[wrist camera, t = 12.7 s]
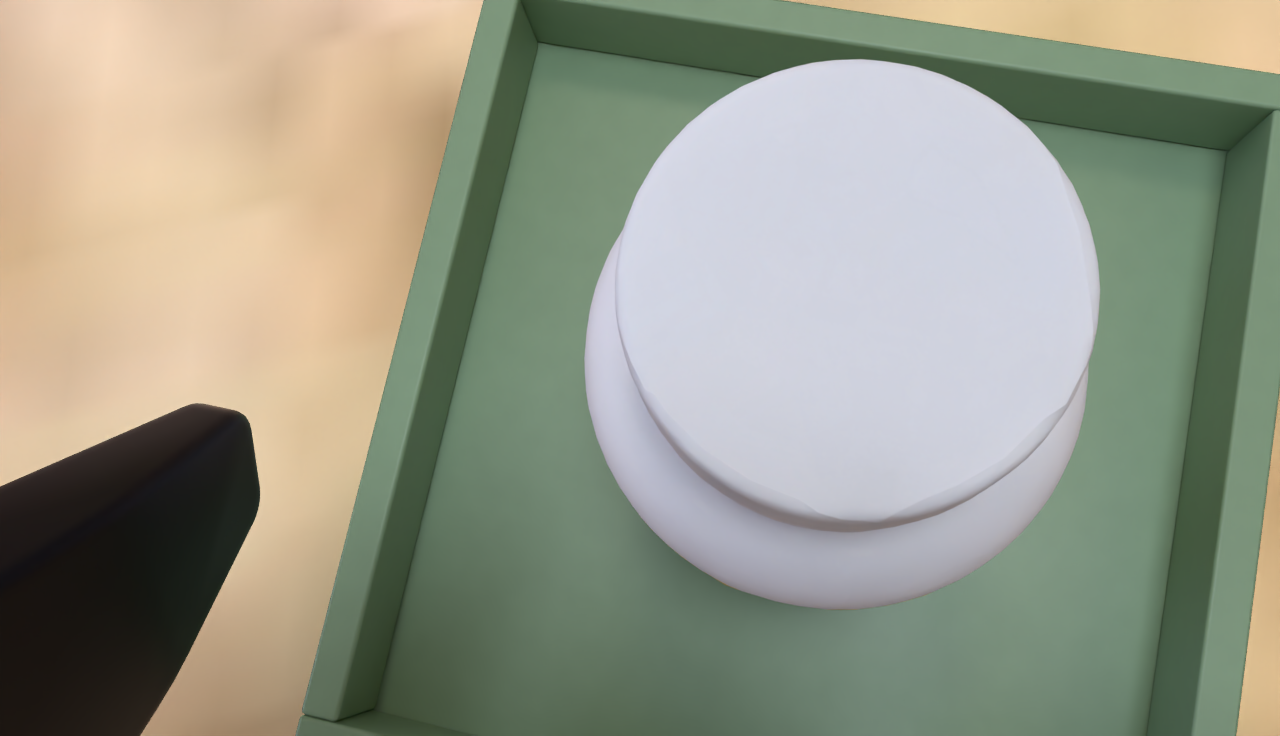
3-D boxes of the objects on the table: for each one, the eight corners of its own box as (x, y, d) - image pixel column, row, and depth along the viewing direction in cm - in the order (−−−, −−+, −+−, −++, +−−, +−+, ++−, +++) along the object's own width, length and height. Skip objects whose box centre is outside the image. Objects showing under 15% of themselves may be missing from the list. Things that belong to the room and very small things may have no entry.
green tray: (1145, 934, 17) (1205, 988, 15) (345, 733, 19) (289, 754, 17) (1252, 138, 20) (1319, 78, 17) (522, 24, 21) (493, -45, 19)
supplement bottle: (1003, 321, 19) (1259, 51, 9) (930, 643, 18) (1130, 714, 8) (688, 248, 20) (625, -71, 10) (605, 553, 19) (449, 522, 9)
